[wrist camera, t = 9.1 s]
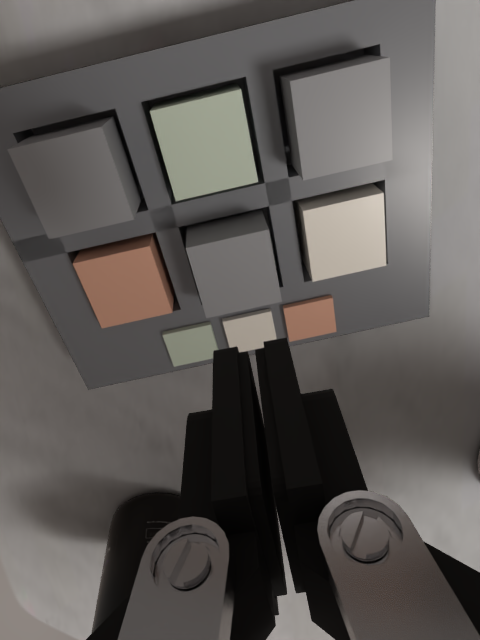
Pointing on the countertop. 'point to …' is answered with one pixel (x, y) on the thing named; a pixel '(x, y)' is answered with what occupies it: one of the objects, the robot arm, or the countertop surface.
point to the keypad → (236, 203)
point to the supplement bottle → (131, 546)
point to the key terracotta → (126, 280)
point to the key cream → (342, 231)
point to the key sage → (205, 141)
